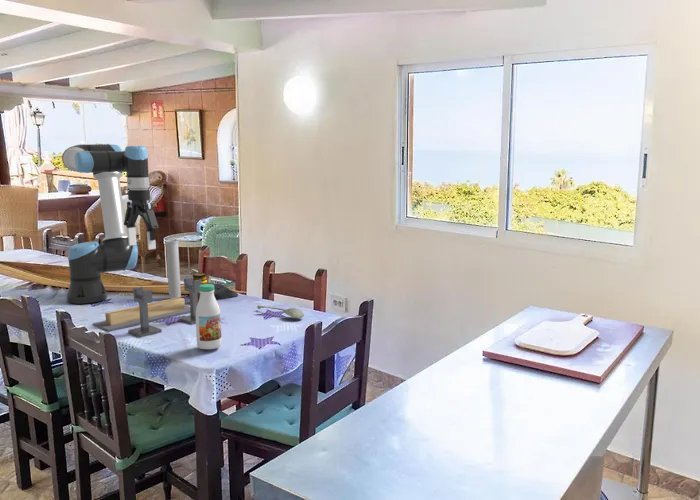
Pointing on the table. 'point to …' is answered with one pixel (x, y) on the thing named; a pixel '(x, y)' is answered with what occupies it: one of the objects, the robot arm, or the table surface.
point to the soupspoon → (287, 311)
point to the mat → (137, 322)
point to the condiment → (199, 277)
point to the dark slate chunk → (222, 292)
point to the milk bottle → (208, 319)
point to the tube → (173, 268)
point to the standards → (146, 297)
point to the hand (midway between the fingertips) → (142, 247)
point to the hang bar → (153, 310)
